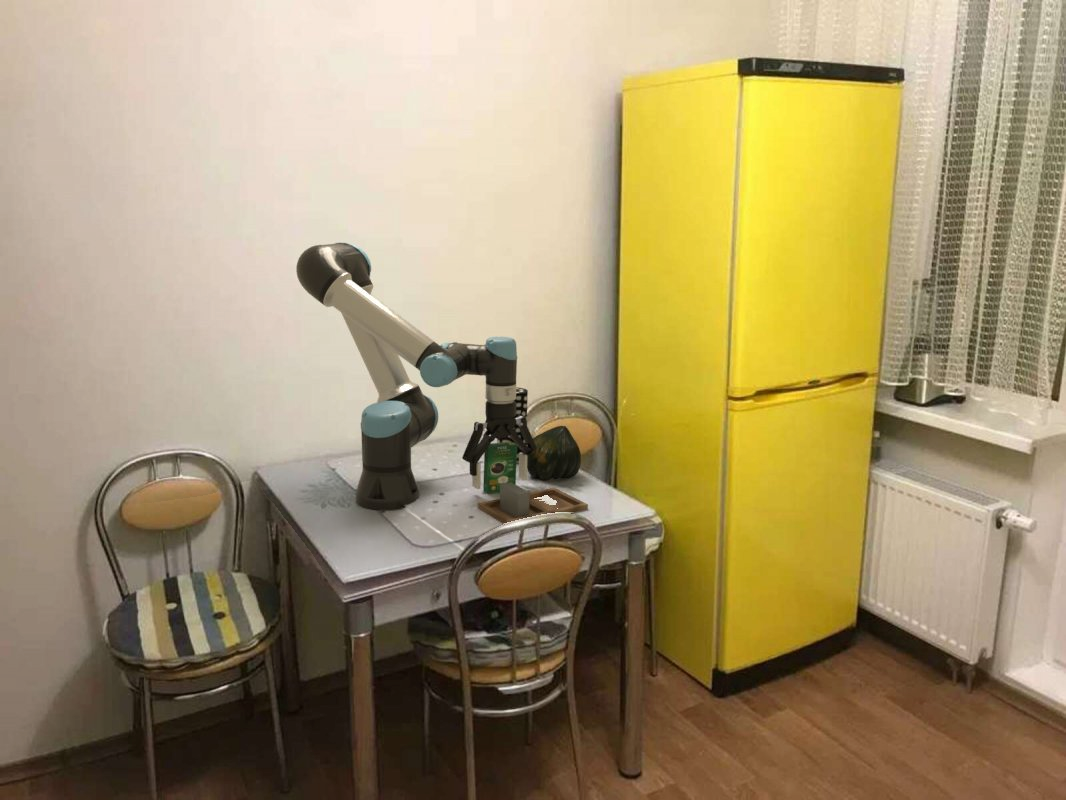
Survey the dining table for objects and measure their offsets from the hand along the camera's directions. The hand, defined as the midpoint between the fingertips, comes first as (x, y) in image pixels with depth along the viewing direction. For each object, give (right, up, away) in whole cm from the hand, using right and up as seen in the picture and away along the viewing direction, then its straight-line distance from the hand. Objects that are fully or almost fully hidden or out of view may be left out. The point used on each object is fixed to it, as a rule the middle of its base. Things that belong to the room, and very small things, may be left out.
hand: (499, 483), depth 215 cm
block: (+4, -5, -14) cm, 16 cm away
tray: (+8, -6, -11) cm, 15 cm away
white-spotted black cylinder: (+2, +4, +29) cm, 29 cm away
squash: (+14, 0, +14) cm, 20 cm away
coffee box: (0, -3, +1) cm, 3 cm away
